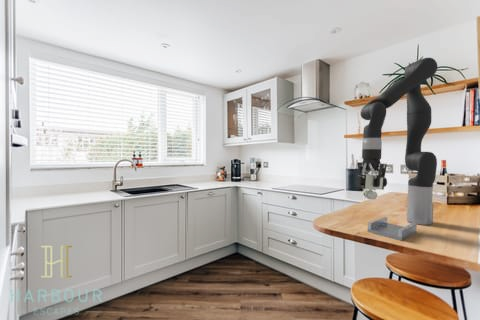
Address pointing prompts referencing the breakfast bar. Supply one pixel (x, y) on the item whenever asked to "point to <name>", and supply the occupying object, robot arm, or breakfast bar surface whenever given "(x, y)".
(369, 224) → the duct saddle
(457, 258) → the breakfast bar surface
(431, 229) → the breakfast bar surface
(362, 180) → the pneumatic valve
